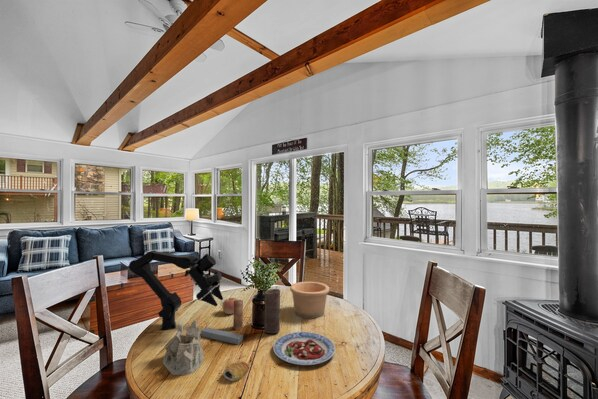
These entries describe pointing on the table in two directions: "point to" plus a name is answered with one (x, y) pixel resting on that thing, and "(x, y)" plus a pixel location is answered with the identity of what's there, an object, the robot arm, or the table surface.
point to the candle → (272, 311)
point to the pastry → (236, 371)
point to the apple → (229, 305)
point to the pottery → (309, 299)
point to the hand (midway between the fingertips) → (219, 302)
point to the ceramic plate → (304, 348)
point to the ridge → (222, 335)
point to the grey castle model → (184, 351)
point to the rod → (238, 315)
